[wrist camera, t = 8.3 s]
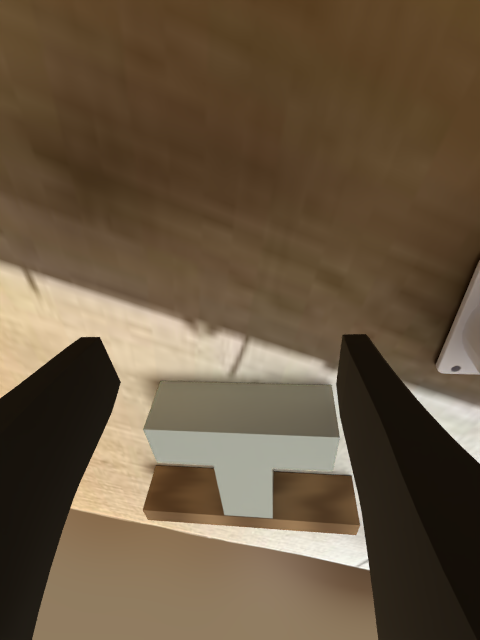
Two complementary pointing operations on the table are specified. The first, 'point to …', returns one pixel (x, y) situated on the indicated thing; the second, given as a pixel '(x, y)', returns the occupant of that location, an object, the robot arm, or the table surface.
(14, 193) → the table surface
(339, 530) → the bar
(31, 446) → the robot arm
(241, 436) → the T block
